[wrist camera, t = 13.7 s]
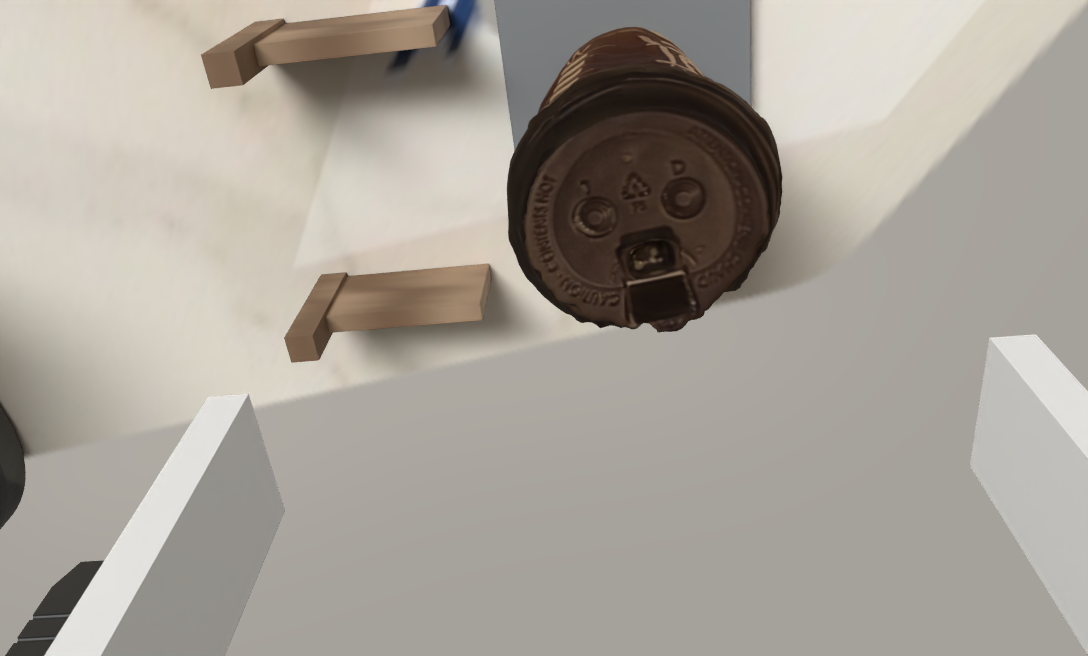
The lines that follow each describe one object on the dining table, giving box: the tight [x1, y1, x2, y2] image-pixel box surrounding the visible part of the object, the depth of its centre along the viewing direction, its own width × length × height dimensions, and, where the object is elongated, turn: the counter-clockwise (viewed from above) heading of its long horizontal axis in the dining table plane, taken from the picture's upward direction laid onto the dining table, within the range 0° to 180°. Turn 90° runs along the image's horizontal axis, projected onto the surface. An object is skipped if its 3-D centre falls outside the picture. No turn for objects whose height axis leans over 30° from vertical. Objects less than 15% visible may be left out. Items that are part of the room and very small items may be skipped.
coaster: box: [494, 0, 751, 149], centre depth 38 cm, size 10×10×1 cm
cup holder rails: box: [201, 5, 491, 362], centre depth 37 cm, size 8×13×6 cm, turn 7°
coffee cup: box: [507, 27, 782, 332], centre depth 32 cm, size 9×8×13 cm
